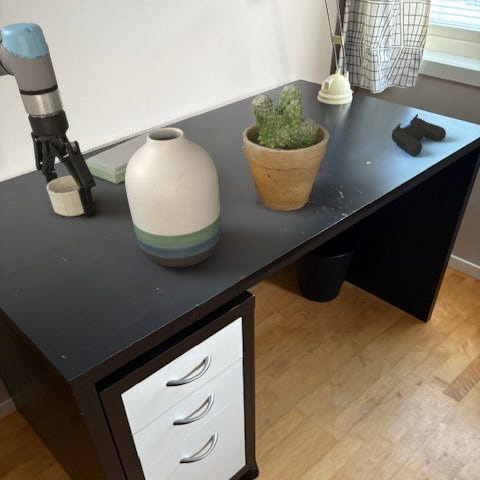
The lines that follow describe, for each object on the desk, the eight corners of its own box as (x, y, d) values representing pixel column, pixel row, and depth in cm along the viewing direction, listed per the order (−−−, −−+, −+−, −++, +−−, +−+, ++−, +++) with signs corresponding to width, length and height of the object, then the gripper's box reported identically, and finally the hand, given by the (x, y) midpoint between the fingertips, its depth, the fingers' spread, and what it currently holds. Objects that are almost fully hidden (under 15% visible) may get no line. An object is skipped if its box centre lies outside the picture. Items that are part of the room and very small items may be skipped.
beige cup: (46, 210, 113) (38, 186, 109) (78, 194, 118) (71, 171, 114) (70, 221, 108) (63, 197, 104) (102, 204, 113) (96, 181, 109)
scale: (82, 170, 128) (79, 159, 126) (151, 139, 143) (149, 128, 141) (116, 184, 121) (114, 172, 119) (185, 149, 136) (184, 138, 134)
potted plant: (259, 177, 121) (258, 70, 104) (331, 187, 116) (342, 76, 99) (233, 212, 109) (227, 97, 92) (312, 224, 103) (321, 104, 86)
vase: (135, 237, 102) (111, 123, 86) (212, 224, 105) (202, 111, 89) (146, 283, 90) (120, 161, 74) (232, 266, 93) (225, 145, 77)
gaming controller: (437, 146, 137) (413, 121, 138) (451, 132, 132) (427, 106, 134) (406, 165, 129) (382, 138, 130) (420, 150, 124) (395, 123, 125)
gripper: (97, 116, 95) (119, 214, 109) (28, 97, 106) (57, 187, 121) (66, 128, 91) (94, 228, 105) (-2, 106, 102) (31, 199, 116)
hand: (74, 206), depth 113 cm, fingers open, 11 cm apart
